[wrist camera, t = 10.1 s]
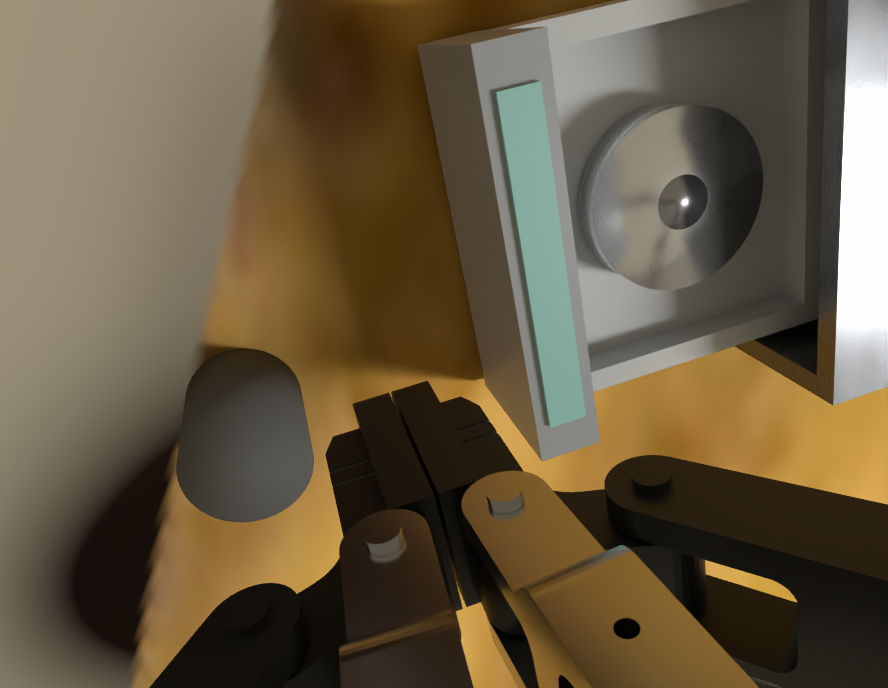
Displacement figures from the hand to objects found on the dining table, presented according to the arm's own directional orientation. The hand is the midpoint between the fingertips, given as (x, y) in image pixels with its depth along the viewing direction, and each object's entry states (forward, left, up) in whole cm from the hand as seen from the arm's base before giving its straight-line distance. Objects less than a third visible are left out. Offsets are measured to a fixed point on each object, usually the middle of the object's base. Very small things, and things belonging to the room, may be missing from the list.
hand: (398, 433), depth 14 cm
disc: (0, -11, -10) cm, 15 cm away
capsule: (-4, +4, -12) cm, 13 cm away
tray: (0, -12, -12) cm, 17 cm away
